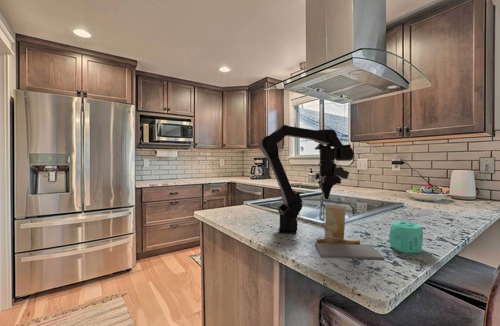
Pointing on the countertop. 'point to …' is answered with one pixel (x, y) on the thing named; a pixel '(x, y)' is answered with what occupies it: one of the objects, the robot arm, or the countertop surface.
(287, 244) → the countertop surface
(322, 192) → the robot arm
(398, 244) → the decorative dice
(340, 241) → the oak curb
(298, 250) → the countertop surface
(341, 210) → the skincare box
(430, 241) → the countertop surface
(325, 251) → the rubber mat
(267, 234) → the countertop surface
